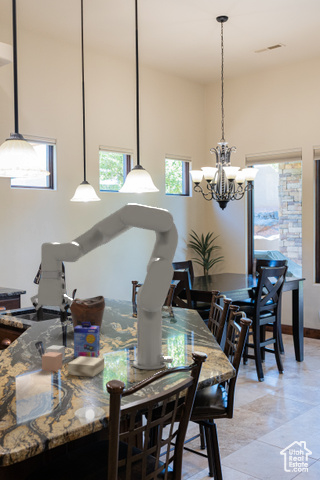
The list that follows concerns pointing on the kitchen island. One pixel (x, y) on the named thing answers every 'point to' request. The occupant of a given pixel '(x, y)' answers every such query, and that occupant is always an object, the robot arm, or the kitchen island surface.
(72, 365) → the maple base block
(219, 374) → the kitchen island surface
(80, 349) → the ink cartridge box
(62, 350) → the pale grey cube
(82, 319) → the brown tapered pot
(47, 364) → the terracotta cube
